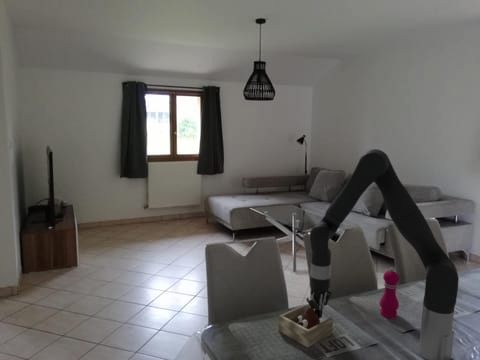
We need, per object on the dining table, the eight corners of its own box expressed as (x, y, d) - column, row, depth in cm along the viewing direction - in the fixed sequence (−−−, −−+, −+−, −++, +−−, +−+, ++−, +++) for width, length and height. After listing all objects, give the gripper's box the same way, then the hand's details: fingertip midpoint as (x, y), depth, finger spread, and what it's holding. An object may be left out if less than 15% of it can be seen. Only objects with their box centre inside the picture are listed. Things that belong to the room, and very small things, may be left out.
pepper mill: (399, 319, 156) (403, 272, 152) (380, 317, 157) (383, 270, 154) (396, 311, 163) (399, 265, 159) (377, 309, 164) (381, 263, 161)
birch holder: (332, 333, 145) (333, 318, 144) (307, 347, 136) (308, 331, 135) (302, 318, 156) (303, 304, 155) (278, 330, 147) (278, 315, 146)
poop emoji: (326, 334, 145) (327, 310, 143) (306, 339, 141) (307, 314, 140) (312, 321, 154) (313, 298, 152) (292, 325, 151) (293, 302, 149)
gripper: (317, 282, 141) (315, 327, 144) (339, 273, 149) (336, 315, 152) (301, 276, 146) (299, 319, 149) (323, 267, 155) (321, 308, 158)
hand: (318, 317), depth 151 cm, fingers closed
